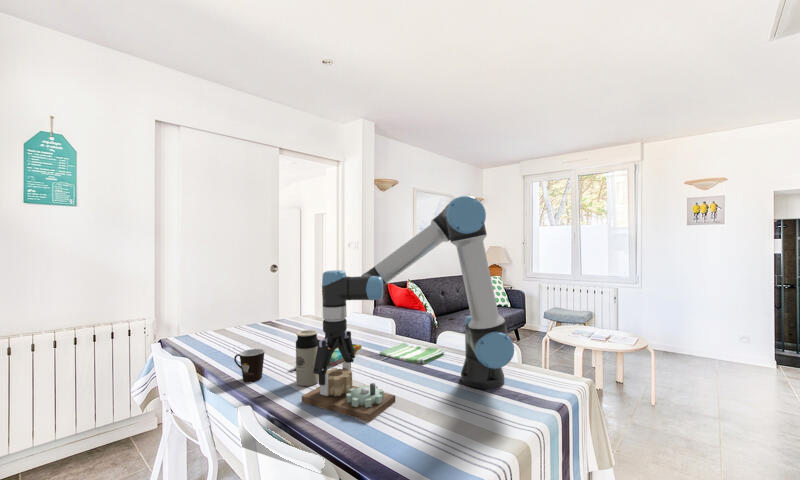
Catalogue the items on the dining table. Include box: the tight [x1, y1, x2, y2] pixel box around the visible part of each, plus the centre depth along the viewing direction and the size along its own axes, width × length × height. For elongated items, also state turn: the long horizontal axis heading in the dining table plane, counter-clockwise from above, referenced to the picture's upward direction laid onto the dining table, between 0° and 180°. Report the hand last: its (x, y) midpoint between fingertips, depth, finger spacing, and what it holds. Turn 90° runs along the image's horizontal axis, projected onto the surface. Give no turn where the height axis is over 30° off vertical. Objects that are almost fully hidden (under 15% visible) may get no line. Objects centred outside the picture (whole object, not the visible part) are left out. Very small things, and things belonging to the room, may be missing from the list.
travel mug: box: [295, 329, 319, 387], centre depth 129 cm, size 8×8×18 cm
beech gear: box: [326, 367, 353, 396], centre depth 115 cm, size 10×10×5 cm
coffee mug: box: [233, 348, 265, 383], centre depth 134 cm, size 12×9×10 cm
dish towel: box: [379, 342, 446, 365], centre depth 159 cm, size 18×23×3 cm
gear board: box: [301, 385, 396, 423], centre depth 112 cm, size 26×14×6 cm, turn 60°
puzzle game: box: [328, 343, 362, 367], centre depth 156 cm, size 12×5×20 cm
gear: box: [346, 382, 385, 407], centre depth 109 cm, size 11×11×5 cm
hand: (335, 388), depth 115 cm, fingers open, 10 cm apart
